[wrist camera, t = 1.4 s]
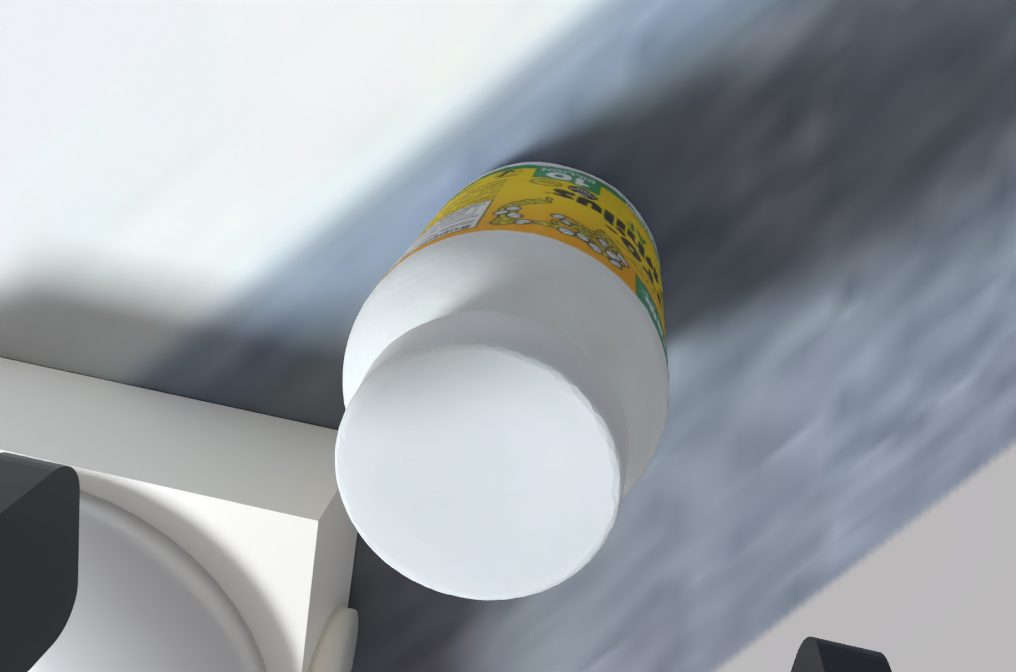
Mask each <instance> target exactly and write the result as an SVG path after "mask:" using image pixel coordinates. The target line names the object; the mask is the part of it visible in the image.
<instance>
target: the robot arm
mask: <svg viewBox="0 0 1016 672" xmlns="http://www.w3.org/2000/svg"><path fill="white" fill-rule="evenodd" d="M79 507H80V483H79V478H78V475H77V473H76V471H75V470H74V469H73V468H72V467H70V466H66V465H62V464H57V463H53V462H49V461H44V460H40V459H35V458H31V457H27V456H22V455H18V454H13V453H9V452H1V453H0V672H28V671H29V670H30V669H31V668H32V667H33V666H34V665H35V663H36V662H37V661H38V660H39V659H40V658H41V657H42V656H43V655H44V654H45V653H46V651H47V650H48V649H49V648H50V647H51V646H52V645H53V644H54V643H55V641H56V640H57V639H58V637H59V636H60V634H61V633H62V631H63V629H64V628H65V626H66V624H67V622H68V620H69V617H70V615H71V612H72V610H73V606H74V603H75V599H76V595H77V589H78V561H79ZM791 672H892V671H891V669H890V666H889V663H888V661H887V659H886V657H885V656H884V655H883V654H882V653H880V652H876V651H872V650H867V649H863V648H858V647H854V646H850V645H845V644H841V643H837V642H832V641H828V640H823V639H819V638H815V637H807V638H806V639H805V640H804V641H803V643H802V644H801V646H800V648H799V650H798V653H797V655H796V658H795V661H794V664H793V667H792V670H791Z"/></svg>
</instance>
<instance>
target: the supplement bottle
mask: <svg viewBox="0 0 1016 672" xmlns="http://www.w3.org/2000/svg"><path fill="white" fill-rule="evenodd" d="M343 396H344V404H345V409H346V411H345V413H344V416H343V418H342V421H341V424H340V426H339V430H338V435H337V440H336V446H335V472H336V479H337V484H338V488H339V492H340V495H341V498H342V501H343V504H344V506H345V508H346V511H347V513H348V515H349V517H350V519H351V521H352V523H353V524H354V526H355V527H356V529H357V531H358V532H359V534H360V535H361V537H362V538H363V539H364V540H365V542H366V543H367V544H368V545H369V546H370V547H371V549H372V550H373V551H374V552H375V553H376V554H377V555H378V556H379V557H380V558H381V559H382V560H383V561H385V562H386V563H387V564H388V565H390V566H391V567H392V568H394V569H395V570H397V571H398V572H400V573H401V574H402V575H404V576H406V577H407V578H409V579H411V580H413V581H415V582H417V583H419V584H421V585H423V586H425V587H428V588H431V589H433V590H435V591H438V592H441V593H445V594H449V595H454V596H458V597H462V598H468V599H475V600H505V599H513V598H518V597H524V596H528V595H532V594H535V593H539V592H542V591H544V590H547V589H549V588H551V587H553V586H556V585H558V584H560V583H561V582H563V581H565V580H566V579H568V578H569V577H571V576H573V575H574V574H575V573H576V572H578V571H579V570H580V569H581V568H583V567H584V566H585V565H586V564H588V563H589V562H590V561H591V560H592V558H593V557H594V556H595V554H596V553H597V552H598V551H599V549H600V548H601V547H602V546H603V544H604V543H605V541H606V540H607V538H608V536H609V534H610V532H611V531H612V529H613V527H614V525H615V522H616V520H617V517H618V514H619V511H620V508H621V503H622V499H623V498H624V497H625V496H626V495H627V494H628V492H629V491H630V490H631V489H632V488H633V487H634V486H635V485H636V483H637V482H638V481H639V479H640V478H641V477H642V475H643V474H644V472H645V471H646V469H647V467H648V466H649V464H650V462H651V461H652V459H653V456H654V454H655V452H656V450H657V448H658V445H659V442H660V440H661V437H662V434H663V431H664V427H665V423H666V418H667V411H668V403H669V372H668V359H667V349H666V334H665V319H664V310H663V295H662V276H661V269H660V261H659V255H658V251H657V247H656V244H655V242H654V239H653V237H652V234H651V232H650V230H649V228H648V226H647V225H646V223H645V221H644V220H643V218H642V217H641V215H640V214H639V212H638V211H637V210H636V208H635V207H634V206H633V205H632V203H631V202H630V201H629V200H628V199H627V198H626V197H625V196H624V195H623V194H622V193H621V192H620V191H618V190H617V189H616V188H614V187H613V186H611V185H610V184H608V183H607V182H605V181H604V180H602V179H600V178H598V177H595V176H593V175H591V174H588V173H586V172H583V171H580V170H577V169H574V168H570V167H566V166H563V165H559V164H553V163H546V162H521V163H516V164H511V165H507V166H503V167H500V168H497V169H494V170H492V171H490V172H488V173H486V174H484V175H482V176H480V177H478V178H476V179H475V180H473V181H472V182H470V183H469V184H468V185H466V186H465V187H464V188H462V189H461V190H460V191H459V192H458V193H457V194H456V195H455V196H454V197H453V198H452V199H451V200H450V201H449V202H448V203H447V204H446V205H445V206H444V207H443V208H442V210H441V211H440V212H439V213H438V214H437V215H436V217H435V218H434V219H433V220H432V221H431V223H430V224H429V225H428V226H427V227H426V228H425V230H424V231H423V232H422V233H421V234H420V235H419V237H418V238H417V239H416V240H415V241H414V243H413V244H412V245H411V246H410V247H409V248H408V249H407V251H406V252H405V253H404V254H403V255H402V256H401V257H400V259H399V260H398V261H397V262H396V264H395V265H394V266H393V267H392V268H391V269H390V270H389V272H388V273H387V274H386V275H385V277H384V278H383V279H382V280H381V281H380V282H379V283H378V285H377V286H376V288H375V289H374V290H373V292H372V293H371V295H370V296H369V297H368V299H367V300H366V302H365V303H364V305H363V307H362V309H361V310H360V312H359V314H358V316H357V318H356V320H355V322H354V325H353V328H352V330H351V333H350V336H349V339H348V343H347V347H346V352H345V356H344V365H343Z"/></svg>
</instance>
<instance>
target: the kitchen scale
mask: <svg viewBox="0 0 1016 672" xmlns="http://www.w3.org/2000/svg"><path fill="white" fill-rule="evenodd" d="M337 435H338V430H334V429H329V428H325V427H320V426H315V425H311V424H306V423H302V422H297V421H292V420H288V419H283V418H278V417H274V416H269V415H265V414H260V413H255V412H251V411H246V410H241V409H237V408H232V407H228V406H223V405H218V404H214V403H209V402H204V401H200V400H195V399H191V398H186V397H181V396H177V395H172V394H167V393H163V392H158V391H154V390H149V389H144V388H140V387H135V386H130V385H126V384H121V383H117V382H112V381H107V380H103V379H98V378H93V377H89V376H84V375H80V374H75V373H70V372H66V371H61V370H56V369H52V368H47V367H43V366H38V365H33V364H29V363H24V362H19V361H15V360H10V359H6V358H1V357H0V453H1V452H9V453H13V454H18V455H22V456H27V457H31V458H35V459H40V460H44V461H49V462H53V463H57V464H62V465H66V466H70V467H72V468H73V469H74V470H75V471H76V473H77V475H78V478H79V483H80V507H79V561H78V589H77V595H76V599H75V603H74V606H73V610H72V612H71V615H70V617H69V620H68V622H67V624H66V626H65V628H64V629H63V631H62V633H61V634H60V636H59V637H58V639H57V640H56V641H55V643H54V644H53V645H52V646H51V647H50V648H49V649H48V650H47V651H46V653H45V654H44V655H43V656H42V657H41V658H40V659H39V660H38V661H37V662H36V663H35V665H34V666H33V667H32V668H31V669H30V670H29V671H28V672H351V669H352V665H353V660H354V655H355V649H356V642H357V635H358V613H357V610H355V609H351V608H348V602H349V594H350V587H351V579H352V571H353V563H354V555H355V548H356V540H357V532H358V531H357V529H356V527H355V526H354V524H353V523H352V521H351V519H350V517H349V515H348V513H347V511H346V508H345V506H344V504H343V501H342V498H341V495H340V492H339V488H338V484H337V479H336V472H335V446H336V440H337Z"/></svg>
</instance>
